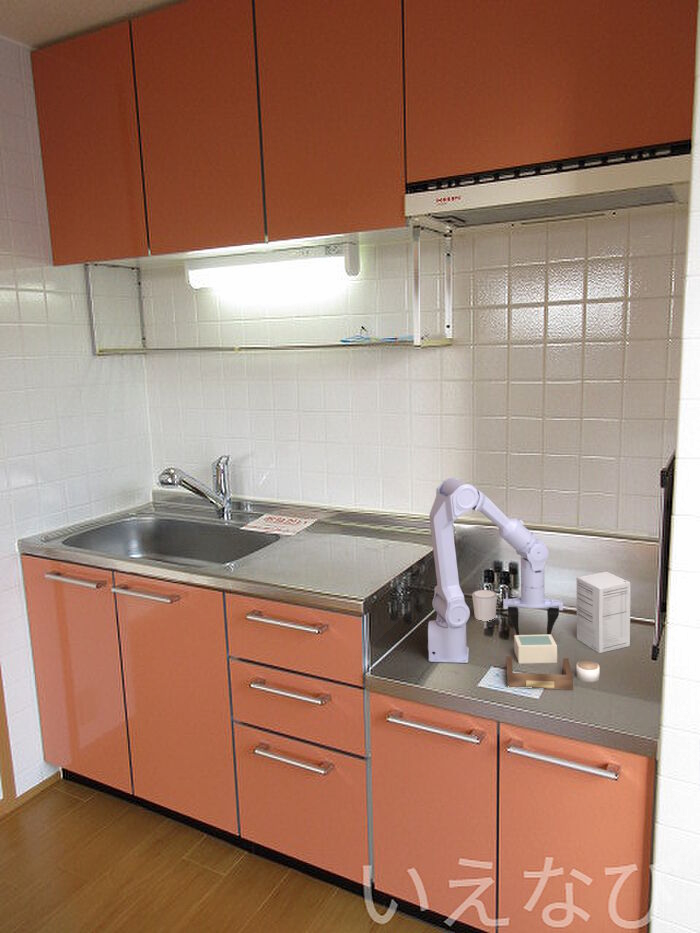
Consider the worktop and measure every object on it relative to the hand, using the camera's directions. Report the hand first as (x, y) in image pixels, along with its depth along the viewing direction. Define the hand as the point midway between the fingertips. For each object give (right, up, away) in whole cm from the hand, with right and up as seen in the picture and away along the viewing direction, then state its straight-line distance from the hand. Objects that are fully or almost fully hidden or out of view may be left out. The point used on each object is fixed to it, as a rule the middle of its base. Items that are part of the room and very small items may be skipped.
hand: (533, 635), depth 176 cm
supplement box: (+17, -2, -2) cm, 17 cm away
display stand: (-4, -6, -18) cm, 19 cm away
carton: (-1, -4, -8) cm, 9 cm away
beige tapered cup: (-9, +1, +17) cm, 19 cm away
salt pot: (+8, -5, -18) cm, 21 cm away
